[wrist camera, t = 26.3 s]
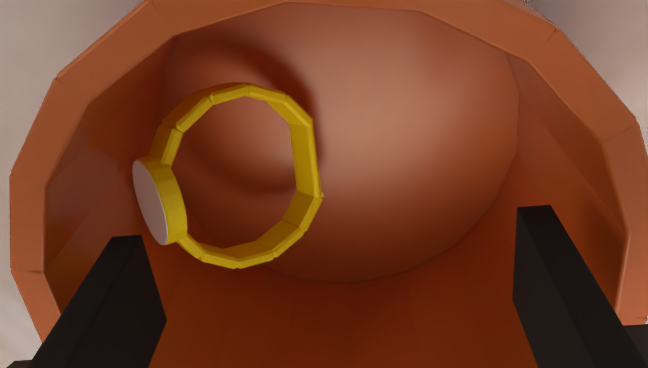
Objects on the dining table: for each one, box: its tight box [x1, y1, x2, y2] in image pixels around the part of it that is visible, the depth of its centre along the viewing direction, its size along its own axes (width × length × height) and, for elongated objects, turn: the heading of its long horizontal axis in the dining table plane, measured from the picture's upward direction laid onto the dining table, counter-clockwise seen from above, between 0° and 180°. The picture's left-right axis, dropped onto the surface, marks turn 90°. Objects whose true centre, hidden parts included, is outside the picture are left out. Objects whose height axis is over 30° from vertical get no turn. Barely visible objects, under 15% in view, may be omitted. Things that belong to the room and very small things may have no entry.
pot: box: [9, 0, 648, 368], centre depth 18 cm, size 15×20×10 cm
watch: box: [132, 82, 324, 269], centre depth 19 cm, size 6×3×6 cm
